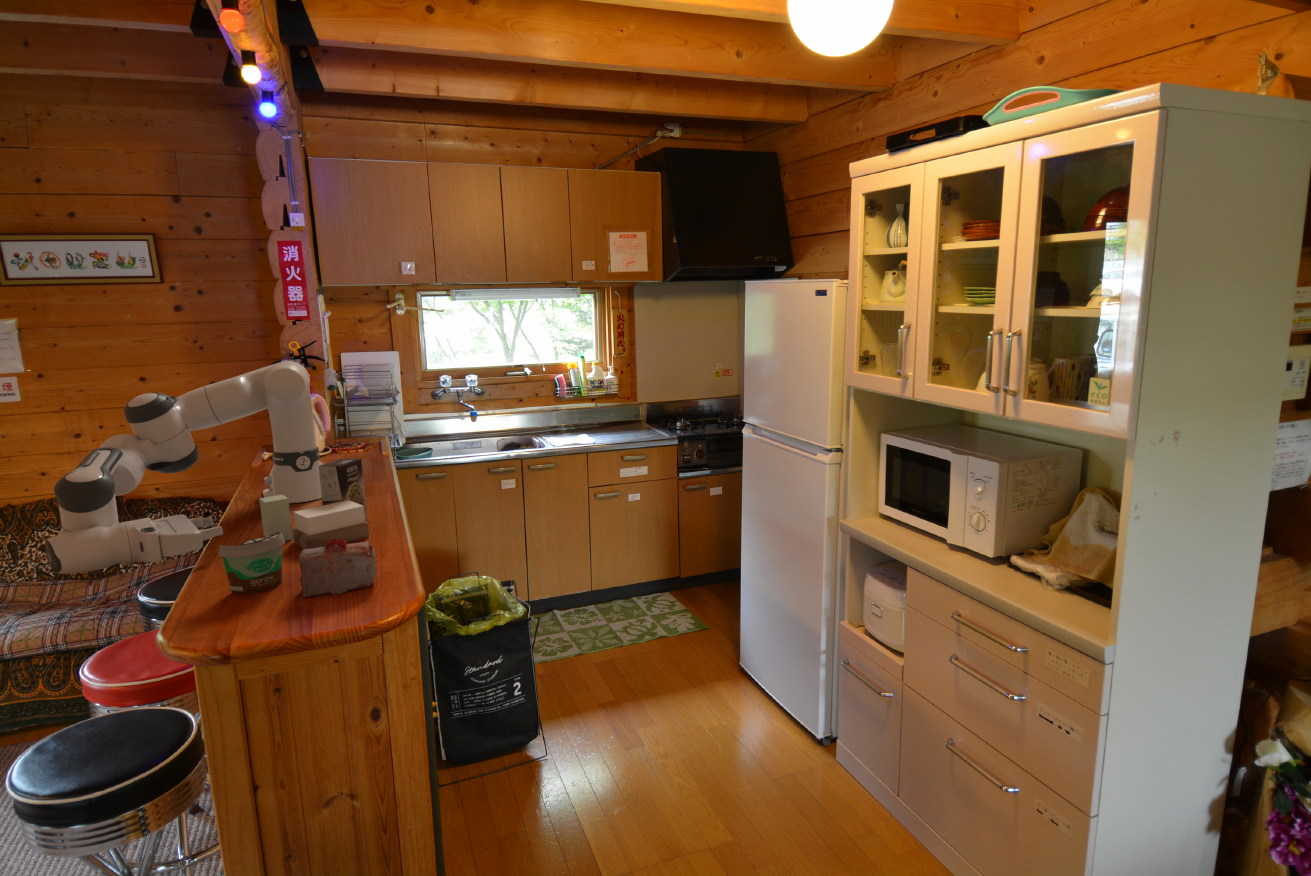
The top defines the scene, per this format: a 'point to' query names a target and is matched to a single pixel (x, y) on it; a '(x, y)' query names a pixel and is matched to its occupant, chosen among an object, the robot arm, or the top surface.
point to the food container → (254, 564)
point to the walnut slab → (330, 536)
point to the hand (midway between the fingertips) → (217, 525)
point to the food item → (337, 567)
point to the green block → (276, 516)
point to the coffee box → (342, 482)
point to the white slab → (329, 517)
